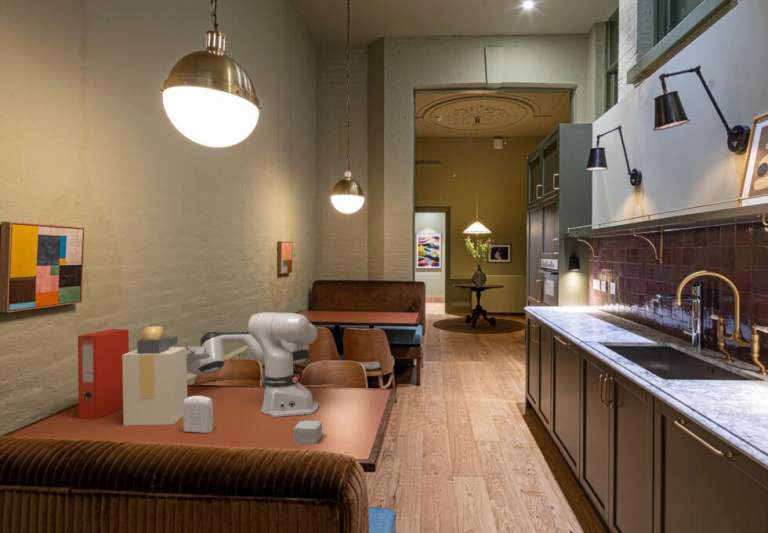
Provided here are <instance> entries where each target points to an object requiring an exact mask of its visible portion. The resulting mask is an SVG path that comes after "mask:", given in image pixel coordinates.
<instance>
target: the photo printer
mask: <svg viewBox="0 0 768 533" xmlns="http://www.w3.org/2000/svg"><path fill="white" fill-rule="evenodd" d="M182 418H183V422H182V423H183V432H185V433H186V432H190V433H204V434H207V433H208V434H209V433H211V432H212V431H213V427H214V402H213V399H212V398H210V397H207V396H204V395H192V396H187V398H185V400H184V403H183V417H182Z"/></svg>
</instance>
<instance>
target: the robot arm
mask: <svg viewBox="0 0 768 533" xmlns="http://www.w3.org/2000/svg"><path fill="white" fill-rule="evenodd" d="M247 330H248V331H233V332H229V331H228V332H220V331H209V332H208V331H207V332H205V333H204V334H203V335H202V336H201V338H200V339H199V342H200V346H191V344H190V345H189V344H185V347H186V348H187V373H190V374H192V375H195V376H201V375H202V376H203V375H204V374H213V373H216V372H219V371H220V370H221V369H222V368H223V367H224V365H225V363H226V362H225V353H224V352H225V351H224V344H225V343H226V344H227V343H242V344H244V345H245V346H246V347H247V348H248V350H249V351H250V353H251V355H252V356H253V357H254V358H255V359H257V360H259V361H264V375H263V389H264V394H263V395H264V396H263V397H264V398H263V403H262V407H261V410H260V411H261V412H262V413H263V414H265V415H269V416H270V417H274V418H278V417H279V418H280V417H291V416H293V417H294V416H302V415H303V416H304V414H305V415H312V414H314V413H315V411H316V412H317V411H318V410H319V407H318V406H319V403H318V402H317V401H315V400H314V399H313V394H312V392H311V390H310V389H308V388H307V387H305V386H304V385H303V384H302V383H300V382H299V374H296V373H295V372H294V364H302V363H303V362H305V361H307V360H308V359H309V358H310V350H309V347H310V346H309V345H310V344H312V343H314V342H315V341H316V340H317V337H318V330H317V328H316V326H315V325H314V324H312V323H311V322H310V321H309V319H308V318H307V316H306V315H303V314H299V313H296V312H274V311H273V312H268V311H267V312H265V311H264V312H259V313H254V314H253V315H251V317H250V318H249V319H248V323H247ZM176 347H177V346H170V347H169V348H176ZM317 409H318V410H317Z"/></svg>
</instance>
